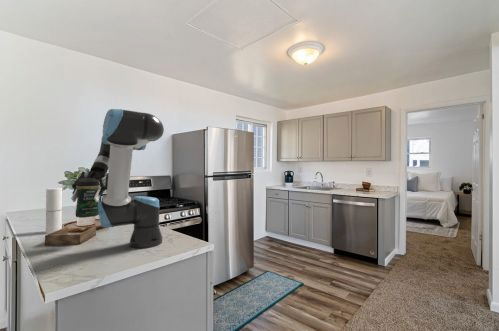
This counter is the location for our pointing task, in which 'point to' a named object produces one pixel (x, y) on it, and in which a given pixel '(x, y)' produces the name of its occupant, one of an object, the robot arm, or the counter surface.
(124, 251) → the counter surface
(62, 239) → the cradle
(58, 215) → the cylindrical container
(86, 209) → the coffee jar
